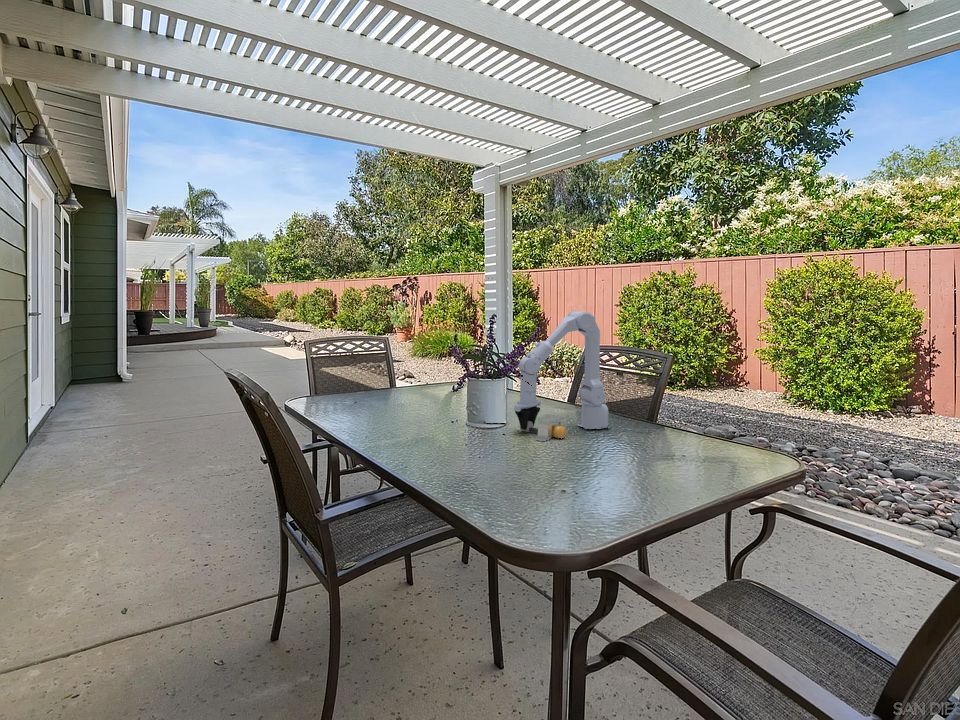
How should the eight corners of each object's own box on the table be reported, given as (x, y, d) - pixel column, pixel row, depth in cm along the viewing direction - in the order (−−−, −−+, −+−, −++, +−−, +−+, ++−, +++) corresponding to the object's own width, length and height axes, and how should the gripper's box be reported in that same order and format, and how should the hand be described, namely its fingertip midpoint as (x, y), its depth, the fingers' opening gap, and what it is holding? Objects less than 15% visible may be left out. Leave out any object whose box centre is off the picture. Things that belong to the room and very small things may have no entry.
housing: (533, 440, 187) (534, 421, 186) (557, 431, 199) (557, 414, 199) (544, 442, 185) (544, 423, 184) (566, 433, 197) (567, 415, 196)
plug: (519, 432, 197) (520, 420, 197) (526, 429, 201) (526, 418, 200) (560, 440, 187) (560, 428, 187) (566, 437, 191) (566, 426, 190)
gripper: (529, 386, 204) (528, 422, 206) (507, 392, 193) (506, 429, 195) (546, 389, 200) (544, 425, 202) (524, 394, 189) (523, 433, 190)
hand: (527, 428), depth 198 cm, fingers closed on plug, 4 cm apart
